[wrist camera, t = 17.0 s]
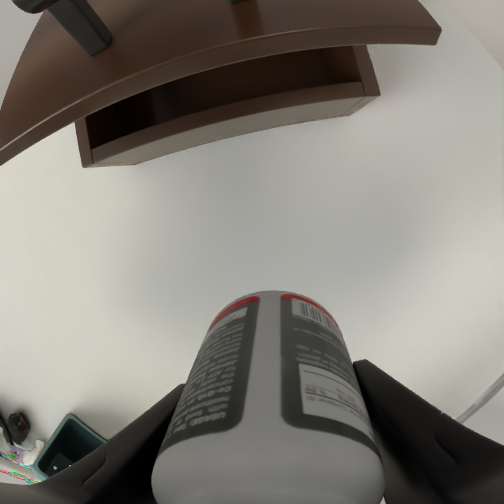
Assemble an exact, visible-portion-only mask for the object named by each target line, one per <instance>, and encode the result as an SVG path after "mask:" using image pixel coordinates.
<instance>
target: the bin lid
mask: <svg viewBox="0 0 504 504" xmlns="http://www.w3.org/2000/svg"><path fill="white" fill-rule="evenodd" d="M12 1H13V3H14V4H15V5H16V6H17V7H18V8H20V9H21V10H23V11H25V12H28V13H32V14H36V13H40V12H42V11H44V12H43V14H42V16H41V18H40V20H39V21H38V23H37V25H36V27H35V28H34V30H33V32H32V34H31V36H30V38H29V40H28V42H27V44H26V46H25V49H24V51H23V53H22V55H21V57H20V59H19V62H18V64H17V66H16V69H15V71H14V74H13V76H12V79H11V81H10V84H9V86H8V89H7V92H6V95H5V97H4V100H3V103H2V106H1V109H0V166H1V165H3V164H4V163H6V162H7V161H9V160H10V159H12V158H13V157H15V156H16V155H18V154H19V153H21V152H22V151H24V150H26V149H27V148H29V147H30V146H32V145H34V144H35V143H37V142H39V141H40V140H42V139H44V138H46V137H47V136H49V135H51V134H53V133H54V132H56V131H58V130H60V129H62V128H64V127H65V126H67V125H69V124H71V123H73V122H75V121H77V120H79V119H81V118H83V117H85V116H87V115H89V114H91V113H93V112H95V111H98V110H100V109H102V108H104V107H106V106H109V105H111V104H113V103H115V102H118V101H120V100H122V99H125V98H127V97H130V96H132V95H135V94H137V93H140V92H142V91H145V90H148V89H150V88H153V87H156V86H159V85H161V84H164V83H167V82H170V81H173V80H176V79H179V78H182V77H185V76H189V75H192V74H195V73H199V72H202V71H206V70H209V69H213V68H217V67H220V66H224V65H228V64H232V63H237V62H241V61H245V60H250V59H255V58H260V57H265V56H270V55H276V54H281V53H287V52H294V51H301V50H308V49H317V48H326V47H336V46H349V45H369V44H415V45H436V44H437V41H438V39H439V37H440V34H441V31H442V29H441V27H440V26H439V25H438V23H437V22H436V21H435V20H434V18H433V17H432V16H431V15H430V14H429V12H428V11H427V10H426V9H425V8H424V7H423V5H422V4H421V3H420V2H419V1H418V0H12Z"/></svg>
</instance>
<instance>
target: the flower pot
mask: <svg viewBox="0 0 504 504" xmlns="http://www.w3.org/2000/svg"><path fill="white" fill-rule="evenodd" d="M105 442H107V441H105V440H104V439H103V438H101V437H100V436H98V435H97V434H96V433H94V432H93V431H92V430H90V429H89V428H88V427H87V426H85V425H84V424H83V423H82V422H80V421H79V420H78V419H77V418H76V417H74V416H73V415H71V414H67V415H66V416H65V417H64V419H63V420H62V422H61V423H60V424H59V426H58V427H57V429H56V430H55V432H54V433H53V435H52V436H51V438H50V439H49V441H48V442H47V444H46V445H45V447H44V448H43V449H42V451H41V452H40V454H39V455H38V457H37V458H36V459H35V461H34V462H33V466H32V473H33V475H34V476H35V477H36V478H38V479H39V480H40V481H44V480H46V479H47V478H49V477H51V476H53V475H55V474H57V473H58V472H60V471H62V470H64V469H66V468H67V467H69V465H73V464H74V463H76V462H78V461H79V460H81V459H83V458H84V457H86V456H87V455H88V454H90V453H91V452H93V451H94V450H96V449H97V448H98V447H100V446H101V445H102V444H105ZM54 466H56V467H57V469H56V470H55V469H54V468H53V467H54Z"/></svg>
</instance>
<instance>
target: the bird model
mask: <svg viewBox="0 0 504 504" xmlns="http://www.w3.org/2000/svg"><path fill="white" fill-rule="evenodd" d="M8 425H9V428H10V431H11V434H12V435H13V436H14V438H15V440H16V442H17V444H18V443H19V444H21V442H23V441H24V440H25V438H26V435H27V431H28V424H27V422H26V421H25V419H24V418H23V417H22V416H21V413H20V414H17V413H13V414H11V415H10V416H9V419H8Z"/></svg>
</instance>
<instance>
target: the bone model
mask: <svg viewBox="0 0 504 504" xmlns="http://www.w3.org/2000/svg"><path fill="white" fill-rule="evenodd" d="M44 446H45V444H44V442H43V441H40V440H36V445H35V447H34V448H33V449H32V450H31V451H29V450H23V449H21V448H18V447H15V446H13V445H12V446H11V444H10V443H6V440H5V437H4V434H3V429H2V428H1V427H0V453H1V454H2V456H3V457H4V458H3V457H1V456H0V468H2V469H4V470H7V471H9V472H8V473H9V475H10V476H12V473H15V474H17V475H19V476H21V477H24V478H25V479H24V480H25V481H26V482H27V483H30V481H31V480H33V481H36V482H37V483H39V482H42V481H40V480H39V479H38V478H36V477H35V476H34V475H33V473H32V469H29V468H27V466H29V467H30V466H31V467H32V465H33V462H34V461H35V459H36V458H37V457H38V455H39V453H40V451H41V450H42V448H43V447H44ZM15 452H19V454H16V455H15ZM6 457H7V458H8V459H9V460H8V459H5V458H6ZM10 460H12V461H16V462H18V464H16V463H14V462H12V461H10ZM19 463H20V464H23V465H24V466H25V467H23V466H21V465H19ZM3 473H6V472H3ZM8 473H7V474H8ZM34 484H36V483H34Z"/></svg>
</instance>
